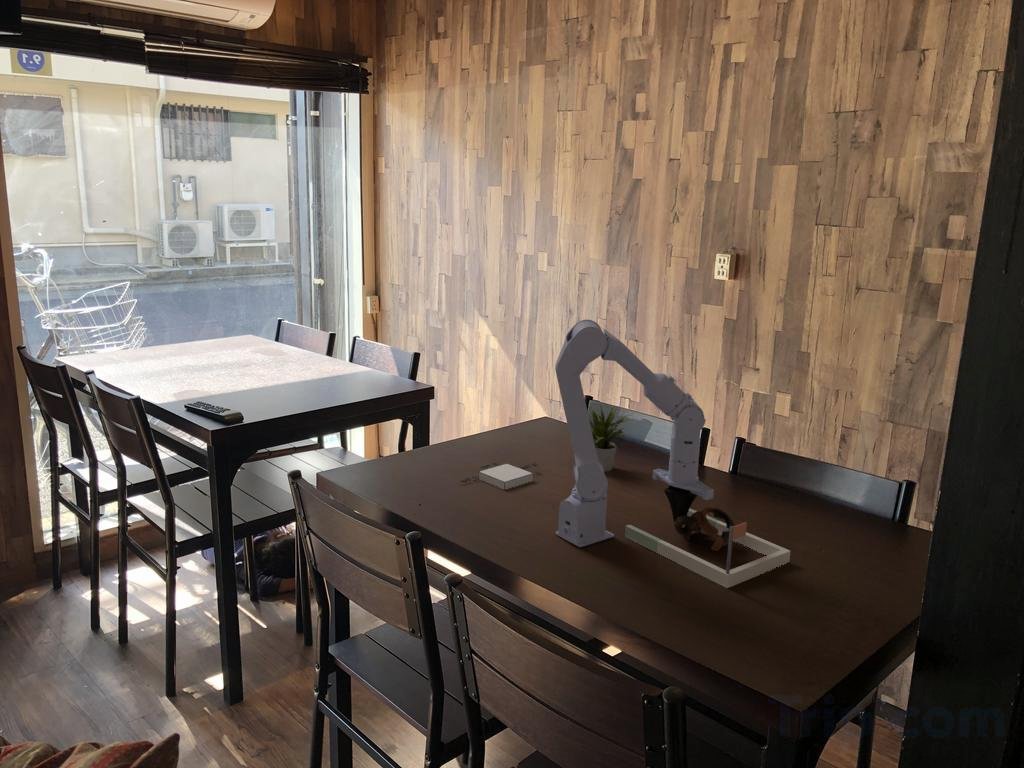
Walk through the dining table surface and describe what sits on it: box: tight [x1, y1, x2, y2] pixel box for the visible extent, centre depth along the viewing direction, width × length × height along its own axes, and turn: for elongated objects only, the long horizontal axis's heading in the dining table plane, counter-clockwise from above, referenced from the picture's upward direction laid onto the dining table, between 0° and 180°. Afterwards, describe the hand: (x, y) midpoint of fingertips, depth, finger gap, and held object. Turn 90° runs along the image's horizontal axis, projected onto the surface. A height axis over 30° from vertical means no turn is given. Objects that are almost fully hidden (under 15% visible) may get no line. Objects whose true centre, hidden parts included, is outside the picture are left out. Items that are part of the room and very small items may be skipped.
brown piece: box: [674, 506, 735, 552], centre depth 162 cm, size 12×10×8 cm
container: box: [459, 462, 538, 491], centre depth 196 cm, size 20×11×3 cm, turn 133°
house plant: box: [589, 405, 632, 473], centre depth 202 cm, size 14×14×16 cm
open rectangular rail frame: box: [624, 507, 791, 589], centre depth 158 cm, size 18×26×12 cm
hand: (679, 521), depth 164 cm, fingers closed
